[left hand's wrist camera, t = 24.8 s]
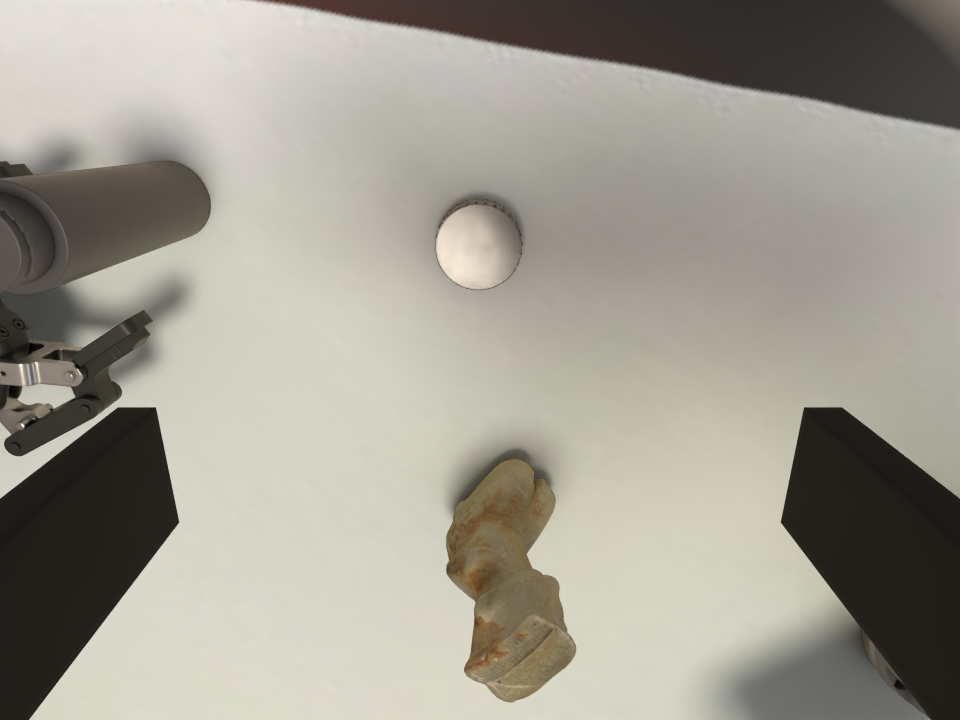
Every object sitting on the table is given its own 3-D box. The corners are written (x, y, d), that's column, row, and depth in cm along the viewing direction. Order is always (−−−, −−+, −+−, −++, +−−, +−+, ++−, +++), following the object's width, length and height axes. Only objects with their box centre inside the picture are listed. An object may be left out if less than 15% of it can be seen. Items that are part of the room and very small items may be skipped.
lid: (449, 187, 35) (447, 191, 33) (531, 212, 36) (534, 217, 34) (427, 269, 37) (424, 277, 35) (506, 292, 38) (507, 301, 36)
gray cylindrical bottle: (226, 206, 36) (61, 257, 22) (176, 253, 37) (-13, 331, 23) (168, 144, 35) (-46, 156, 20) (118, 194, 36) (-119, 239, 21)
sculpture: (566, 494, 42) (609, 676, 28) (487, 551, 44) (490, 750, 30) (511, 437, 41) (528, 600, 27) (431, 499, 42) (407, 682, 28)
